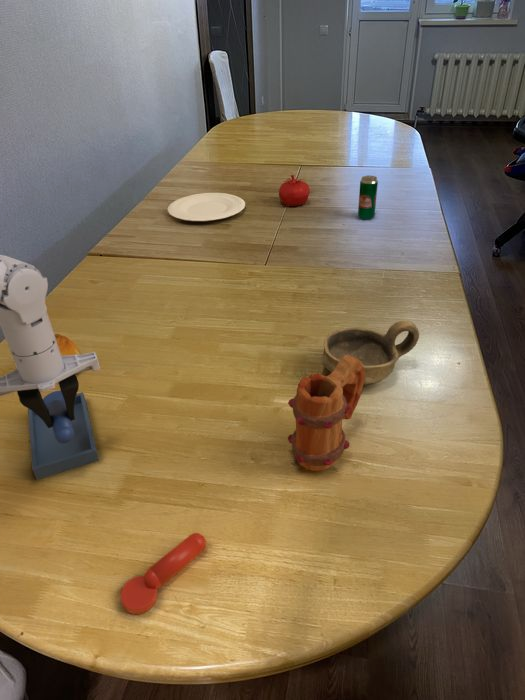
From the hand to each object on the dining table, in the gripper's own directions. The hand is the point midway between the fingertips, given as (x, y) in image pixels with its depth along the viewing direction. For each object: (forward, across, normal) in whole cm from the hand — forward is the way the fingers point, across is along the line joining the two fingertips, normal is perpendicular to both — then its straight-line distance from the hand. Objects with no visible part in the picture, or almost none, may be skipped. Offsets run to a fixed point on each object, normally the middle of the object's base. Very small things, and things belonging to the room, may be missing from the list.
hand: (60, 419), depth 76 cm
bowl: (+9, +53, -4) cm, 54 cm away
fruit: (+9, +2, +25) cm, 26 cm away
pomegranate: (+9, +84, +81) cm, 117 cm away
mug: (+9, +36, -16) cm, 41 cm away
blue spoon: (+1, 0, +2) cm, 3 cm away
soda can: (+9, +97, +59) cm, 114 cm away
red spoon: (+8, +6, -26) cm, 28 cm away
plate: (+9, +57, +90) cm, 107 cm away
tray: (+8, -1, +6) cm, 10 cm away
